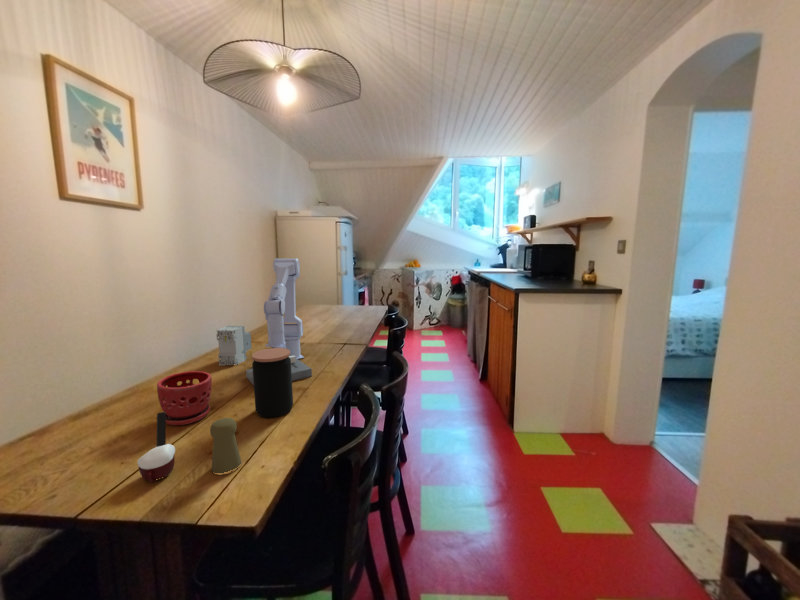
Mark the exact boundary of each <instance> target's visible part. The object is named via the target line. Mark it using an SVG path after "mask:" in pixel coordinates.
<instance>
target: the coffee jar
mask: <svg viewBox="0 0 800 600" xmlns="http://www.w3.org/2000/svg"><path fill="white" fill-rule="evenodd" d="M268 348H269V349H268ZM268 348H264V349H260V350H257V351H255V352H253V353H252V354H251V358H252V359H251V360H252V364H251V365H252V366H251V367H253V381H254V386H253V393H254V394H253V395H254V405H255V406H254V407H255V413H256V414H257V415H258V416H259V417H261V418H263V419H275V418H280V417H282V416H285V415H287V414H289V412H290V411H291V410H292V408H293V405H294V395H293V393H294V392H293V381H292V372H291V359H290V357H289V356H290V350H288V349H284V348H272V347H268Z"/></svg>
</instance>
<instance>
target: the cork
mask: <svg viewBox="0 0 800 600" xmlns="http://www.w3.org/2000/svg"><path fill="white" fill-rule="evenodd" d="M237 426H238V425H237V422H236V420H235V419H234V418H232V417H223V418H220V419H218V420H215V421H214V422H213V423H212V424H211V426H210V428H209V433H210V436H211V437H212V438H213V442H212V443H213V444H212V458H211V459H212V460H211V472H212V471H213V472H214V473H224V472H228V471H230V470H233V469H235V468H237V467H238V466H239V465H240V464H241V462H242V459H241V455H240V450H239V447H238V442H237V439H236V434H235V433H236V432H237ZM241 465H242V464H241Z"/></svg>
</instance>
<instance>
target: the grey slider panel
mask: <svg viewBox="0 0 800 600" xmlns="http://www.w3.org/2000/svg"><path fill="white" fill-rule="evenodd" d="M312 370H313V369H312V367H310V366H309V365H307V364H306V363H305V362H303V361H302V360H301V359H296V362H295V363H291V372H292V382H293V381H297V380H303V379H306V378H310V377H312V376H313V373H312V372H313V371H312ZM245 372H246V379H247V380H248V381H249V382H250V383H251V384H252V386H253V387H254V381H253V369H251V368H248V369H245Z"/></svg>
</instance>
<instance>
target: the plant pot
mask: <svg viewBox="0 0 800 600" xmlns="http://www.w3.org/2000/svg"><path fill="white" fill-rule="evenodd" d="M194 380H198V383H196V384H194V383H193V382H194ZM187 381H189V382H187ZM212 381H213V380H212V374H210V373H209V372H207V371H201V370H193V371H184V372H177V373H174V374H169V375H167V376H165V377H163V378H161V379H159V381H158V382H157V384H156V392H157V396H158V401H159V402H158V403H159V405H160V408H161V410H162V411H163V412H165V413H166V424H168V425H171V426H183V425H188V424H193V423H196V422H198V421H200V420H202V419H203V418H204V417H206V416H207V415H208V414H209V413H210V410H211V406H210V405H209V403H210V401H211V396H212V388H213V387H212V386H213V385H212V384H213V382H212ZM179 382H181V384H180V385H179V384H178V383H179Z"/></svg>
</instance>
